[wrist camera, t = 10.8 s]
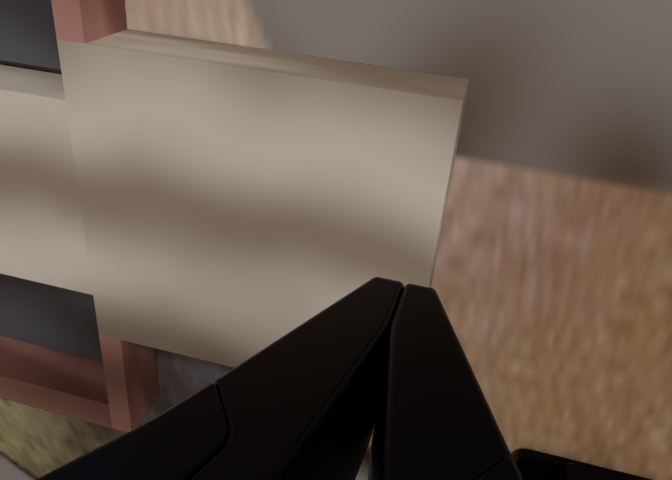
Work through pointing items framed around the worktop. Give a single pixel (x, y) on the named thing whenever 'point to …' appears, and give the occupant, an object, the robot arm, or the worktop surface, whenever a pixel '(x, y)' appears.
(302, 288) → the trap deck
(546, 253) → the worktop surface
